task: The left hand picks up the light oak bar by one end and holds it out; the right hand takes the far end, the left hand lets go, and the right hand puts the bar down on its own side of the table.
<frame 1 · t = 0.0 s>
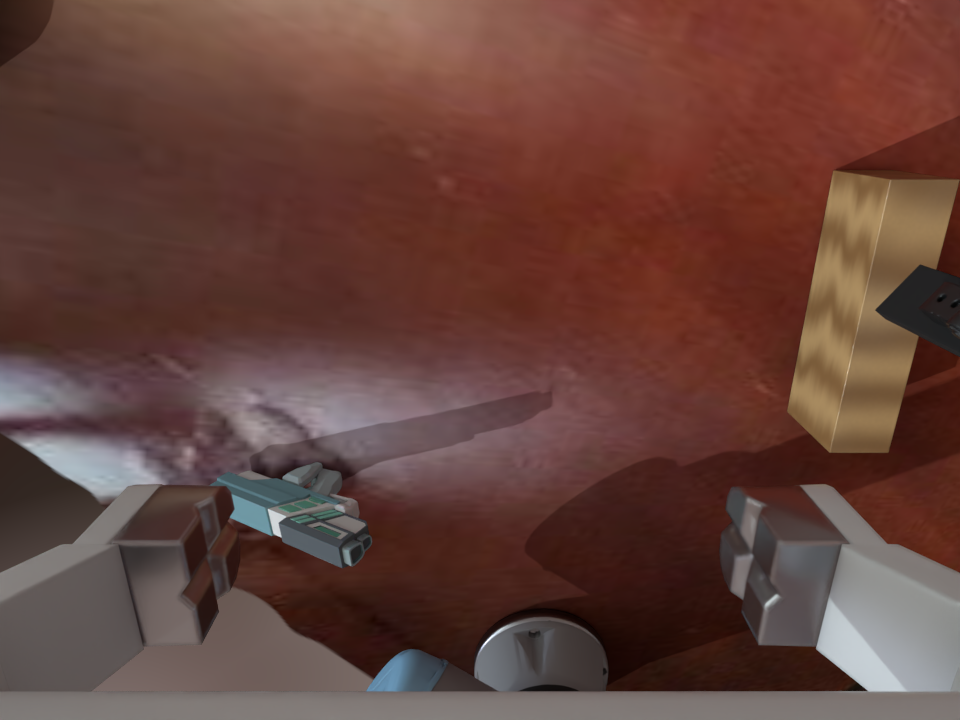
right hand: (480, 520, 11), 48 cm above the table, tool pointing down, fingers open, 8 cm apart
bar: (836, 299, 59), on the table
toy gun: (304, 474, 65), on the table
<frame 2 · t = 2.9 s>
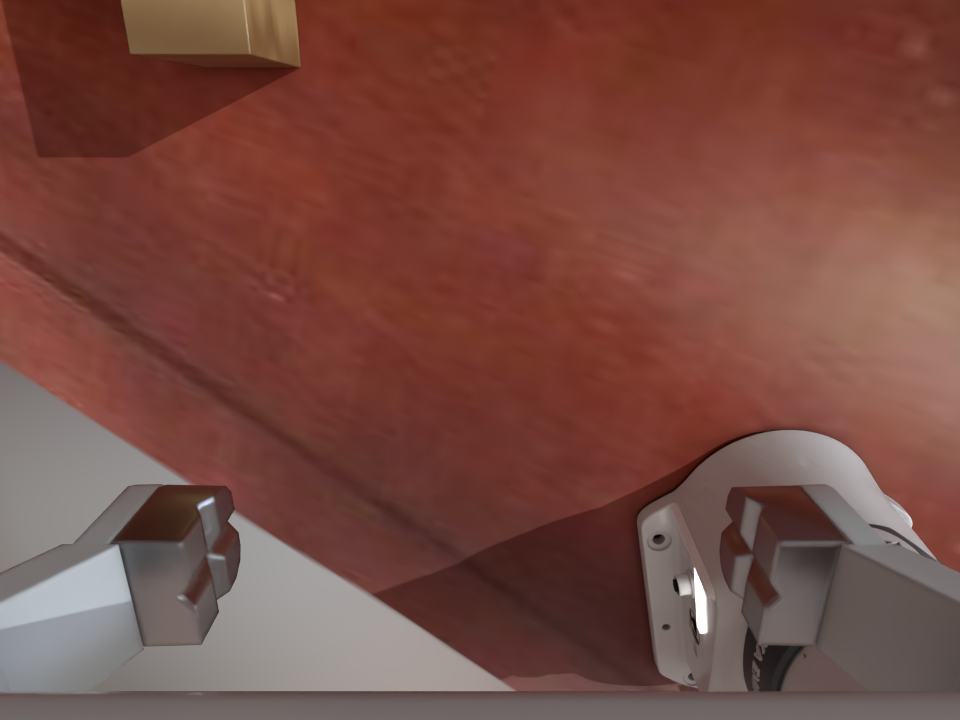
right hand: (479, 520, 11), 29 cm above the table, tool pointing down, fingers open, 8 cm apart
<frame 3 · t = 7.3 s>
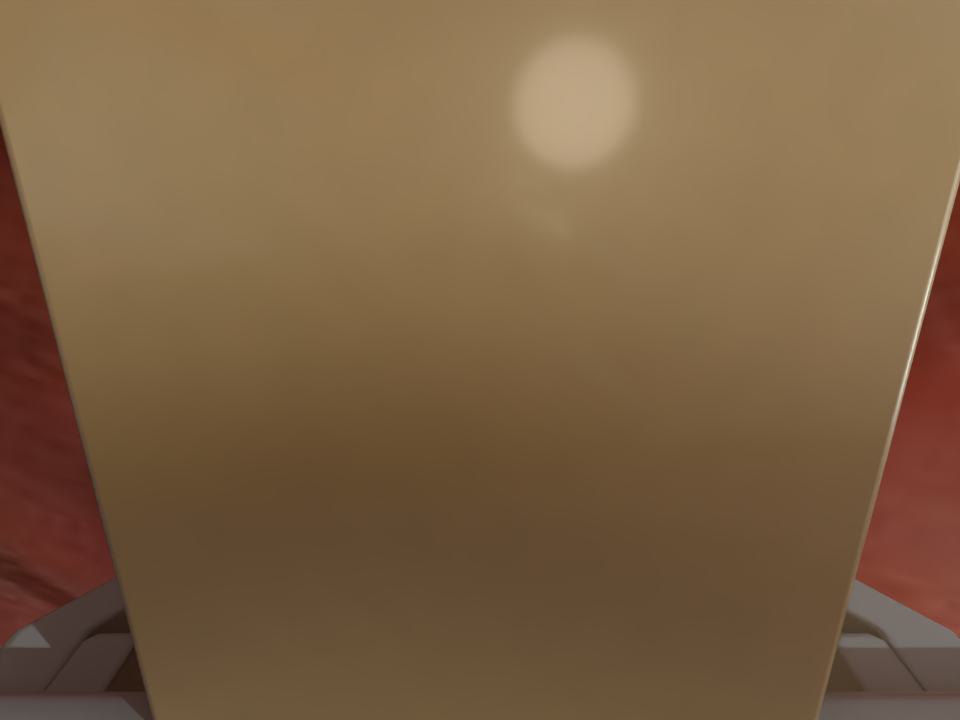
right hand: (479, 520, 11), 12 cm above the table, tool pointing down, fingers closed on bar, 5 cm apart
when the left hand's fingers open (10 cm above the table, at t = 8.3 s): bar stays where it is, held by the right hand.
when the right hand's fingers open (4 cm above the table, at t = 15.9 s): bar stays where it is, on the table.
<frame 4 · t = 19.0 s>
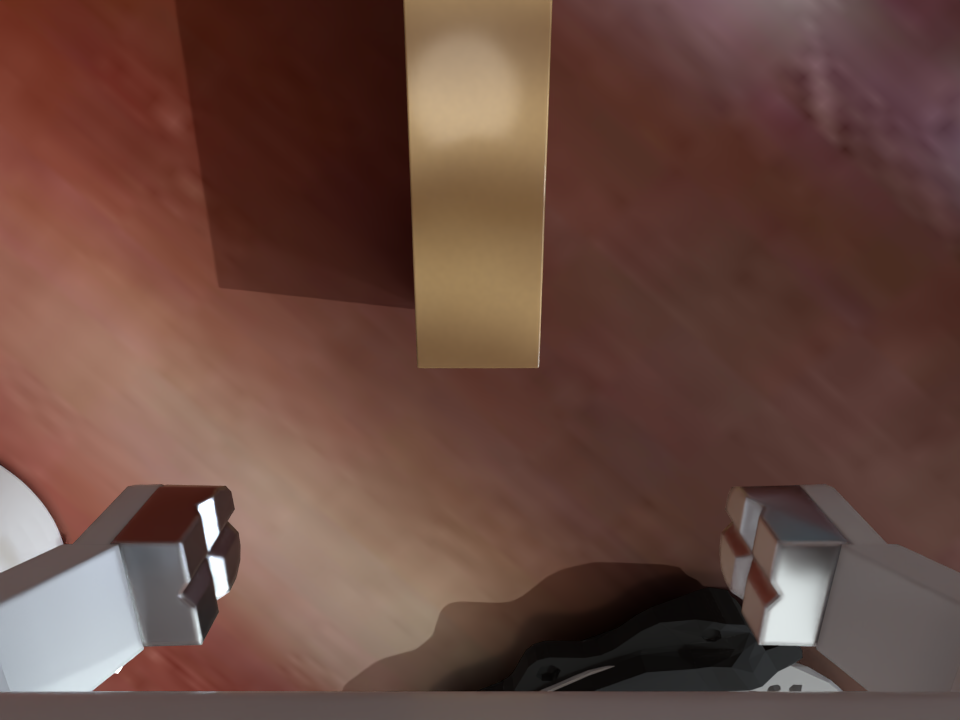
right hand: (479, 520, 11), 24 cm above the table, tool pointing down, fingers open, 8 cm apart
bar: (478, 80, 30), on the table
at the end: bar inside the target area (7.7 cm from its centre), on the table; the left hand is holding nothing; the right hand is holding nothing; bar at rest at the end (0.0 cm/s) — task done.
